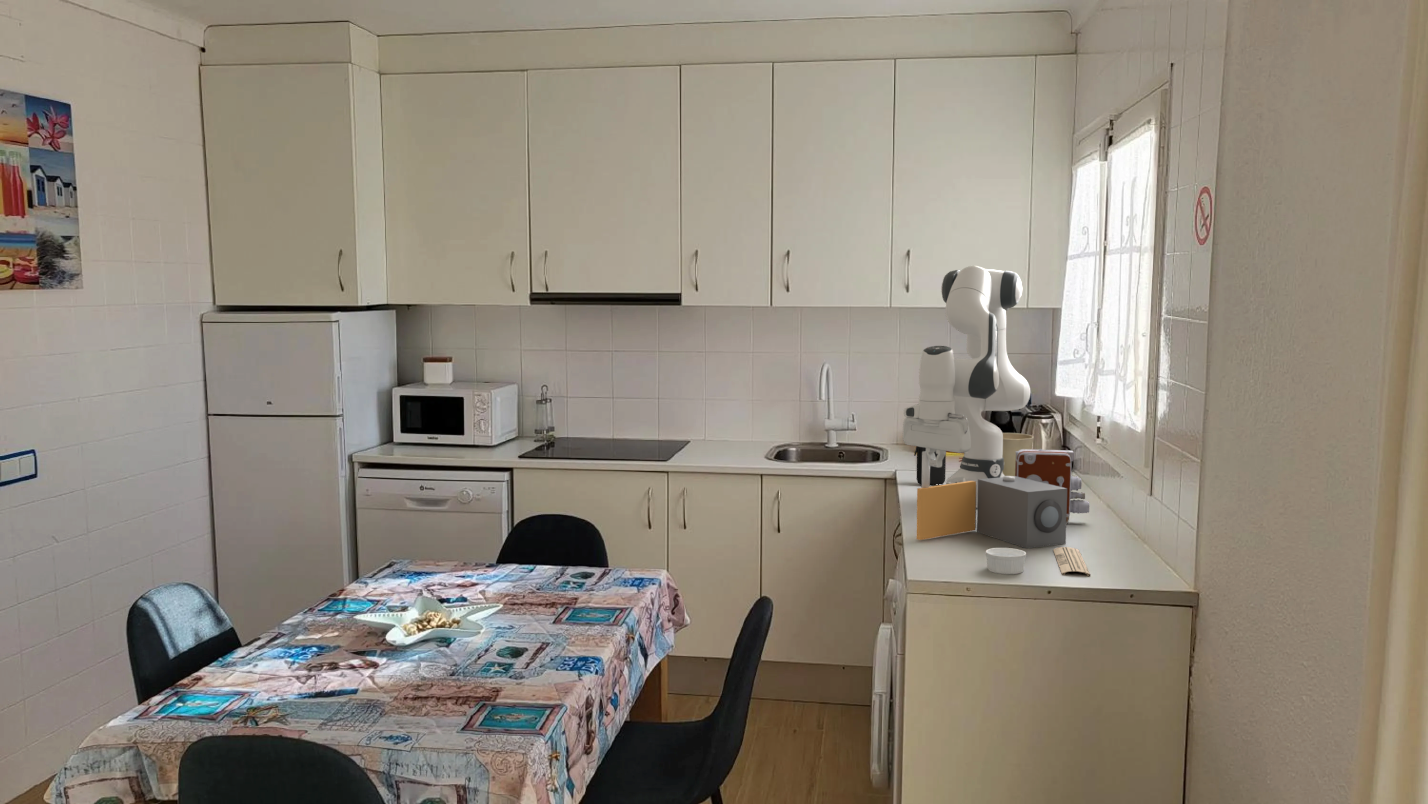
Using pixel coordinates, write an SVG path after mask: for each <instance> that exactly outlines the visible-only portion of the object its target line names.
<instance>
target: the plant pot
mask: <svg viewBox="0 0 1428 804" xmlns="http://www.w3.org/2000/svg"><path fill="white" fill-rule="evenodd" d="M1002 433H1003V455H1002V457H1003V458H1004V470H1002V472H1003V474H1004V475H1005V476H1015V463H1016V451H1019V450H1021V449H1033V443H1034V435H1031V434H1026V433H1018V432H1002Z"/></svg>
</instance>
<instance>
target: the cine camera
mask: <svg viewBox="0 0 1428 804" xmlns="http://www.w3.org/2000/svg"><path fill="white" fill-rule="evenodd" d="M1074 461H1075V452H1074V451H1073V450H1068V449H1067V450H1061V449H1043V448H1039V449H1038V448H1037V449H1033V448H1032V449H1021V450H1019V451H1016V463H1015V476H1017V477H1021V478H1025V479H1029V480H1034V481H1038V482H1042V483H1046V484H1050V485H1055V486H1059V487H1063V488H1067V514H1066V525H1067V524H1068V523H1069V521H1070V515H1071V513H1072V514H1088V513H1089V512H1090V501H1088V500H1085V499H1086V492H1084V491H1083V492H1078V491H1079V490H1081V489H1082V485H1083V483H1082V482H1083V481H1082V478H1081V477H1079V476H1078V475H1077V476H1073V475H1072V462H1074Z"/></svg>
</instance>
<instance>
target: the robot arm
mask: <svg viewBox="0 0 1428 804" xmlns="http://www.w3.org/2000/svg"><path fill="white" fill-rule="evenodd" d="M940 289H941V291H940V292H941V296H942V300H943V302H944V303H945V317H946V320H947V322H948V323H949V324H950V325H951V327H953V329H954V330H956V331H958V332H960V333H962V334H965V335H966V353H967V355H968V356H969V357H970V358H955V356H954V350H953V348H952V347H950V346H946V345H933V346H927V347H926V348H924V349H922V352H921V356H920V361H919V369H918V370H919V371H918V373H919V374H918V384H919V387H920V388H919V390H920V391H919V395H918V404H914V405H911V406H908V407H905V408H904V409H903V416H904V417H905V418H903V419H904V420H903V422H902V440H903V443H904V445H907V446H912V447H913V446H914V447H917V446H918V447H925V448H926V454H927V456H928V458H929V466H933V467H942V460H943V458H944V457H945V455H947V452H951V453H956V454H957V453H959V454H963V456H962V457H959V458H958V459H959V460H958V462H959V463H960V464H959V469H958V470H956V471H955V472H954V473H953V474H952V475H951V476H950V477H948V478H946V480H945V484H953V483H960V482H967V481H973V480H974V481H977V493H976V509H977V502H978V479H987V478H1000V477H1003V476H1005V475H1004V474H1003V472H1002V470H1004V458H1003V457H1002V455H1003V433H1004V432H1003V431H1002V430H1001V428H1000V427H998V426H997V425H996V424H995V423H992V422H990V421H988V420H986V419H985V418H983V416H982V412H985V411H988V412H989V411H991V412H992V411H993V412H1009V411H1010V412H1011V411H1015V410H1020V409H1023V408H1024V407H1026V405H1027V404H1028V403H1029V400H1030V399H1031V387H1030V384H1029V382H1028V380H1027V379H1026V378H1025V377H1024V376H1023V375H1022V374H1020V373H1019V372H1018V371H1017V370H1016V369H1015V368H1014V366H1013V365H1012V363H1011V361H1010V359H1009V357H1008V350H1007V311H1009V310H1010V309H1013V308H1014V307H1015V306H1017V305H1018V304H1019V302H1020V299H1021V297H1022V294H1023V285H1022V280H1021V277H1020V276H1019V274H1018V273H1017V272H1015V271H1011V270H1001V269H999V270H997V269H988V268H984V267H982V266H978V265H969V266H966V267H964V268H963V269H955V270H951V271H949V272H947V273H946V274H945V275H944V277H943V279H942V282H941V288H940ZM934 452H936V454H938V455H937V457H935V454H934Z"/></svg>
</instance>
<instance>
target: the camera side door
mask: <svg viewBox="0 0 1428 804" xmlns="http://www.w3.org/2000/svg"><path fill="white" fill-rule="evenodd" d="M916 490H917V491H916V495H917V496H916V540H919V541H922V540H929V539H934V538H940V537H945V536H950V535H951V536H952V535H957V534H962V533H968V532H973V531H977V508H976V493H977V481H974V480H973V481H967V482H960V483H953V484H946V483H945V484H942V485H932V486H930V466H929V458H928V456H927V454H926V451H924V452H922V485H921V487H918V488H917V489H916Z"/></svg>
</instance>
